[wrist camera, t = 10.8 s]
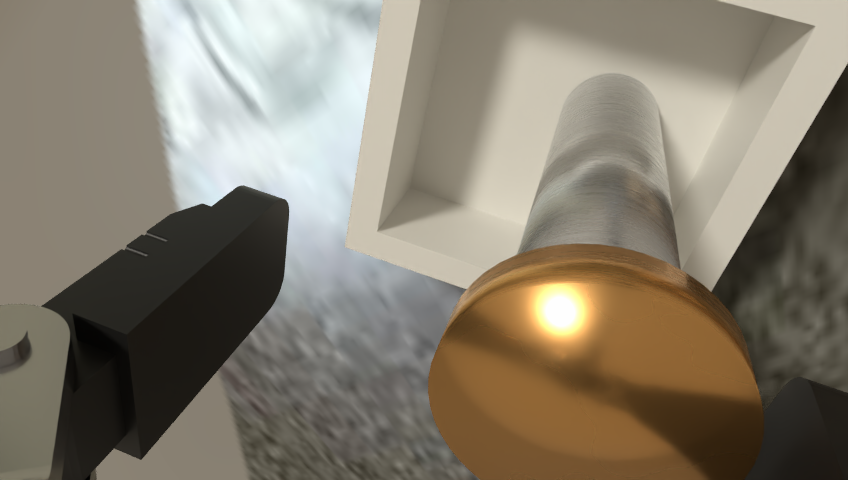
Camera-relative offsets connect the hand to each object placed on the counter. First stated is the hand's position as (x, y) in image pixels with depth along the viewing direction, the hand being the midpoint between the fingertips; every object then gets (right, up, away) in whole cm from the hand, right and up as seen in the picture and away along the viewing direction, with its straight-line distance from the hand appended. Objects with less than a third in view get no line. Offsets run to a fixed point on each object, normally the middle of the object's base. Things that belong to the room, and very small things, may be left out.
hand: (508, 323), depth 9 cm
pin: (+5, +5, +10) cm, 12 cm away
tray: (+3, +6, +10) cm, 12 cm away
